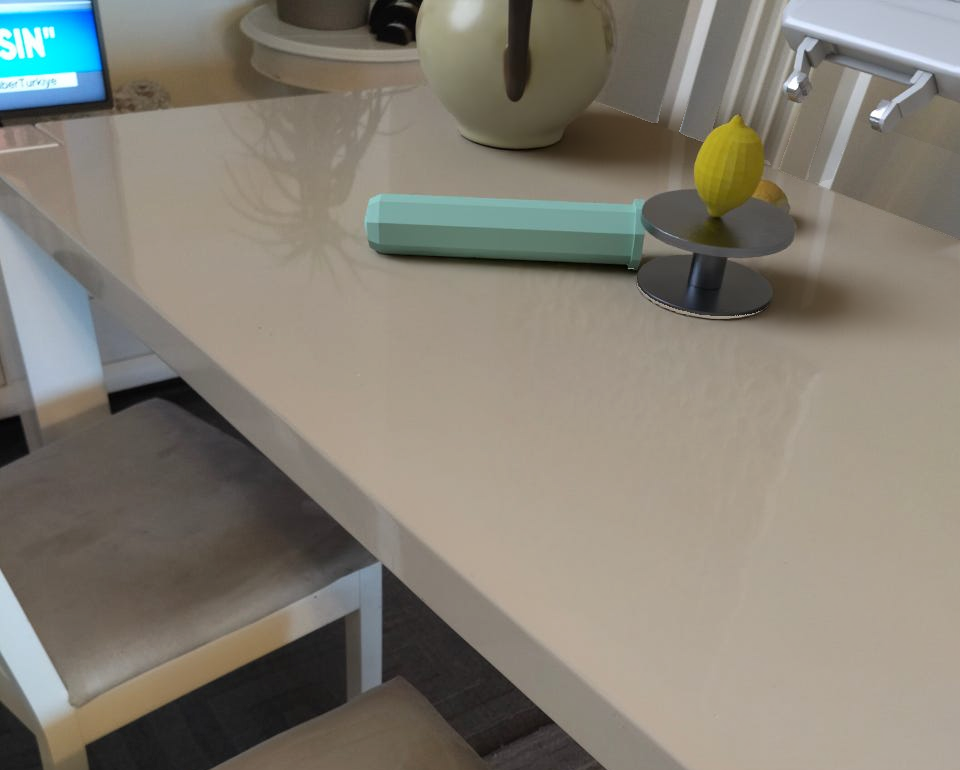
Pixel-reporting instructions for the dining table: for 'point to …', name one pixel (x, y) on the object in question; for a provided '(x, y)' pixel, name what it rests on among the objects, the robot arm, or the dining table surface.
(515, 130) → the pitcher
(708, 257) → the stand
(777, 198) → the bread roll
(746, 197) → the fruit
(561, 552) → the dining table surface
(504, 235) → the container
